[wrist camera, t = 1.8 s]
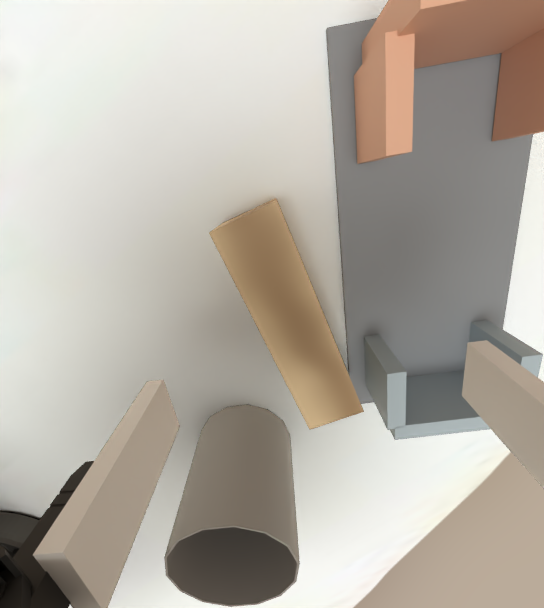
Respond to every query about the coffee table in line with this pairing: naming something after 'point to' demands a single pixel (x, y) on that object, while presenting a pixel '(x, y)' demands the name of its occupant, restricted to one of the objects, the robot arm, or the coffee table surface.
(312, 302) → the tan wooden block
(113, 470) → the robot arm
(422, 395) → the seat
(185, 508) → the cup
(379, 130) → the endcap
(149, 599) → the coffee table surface
